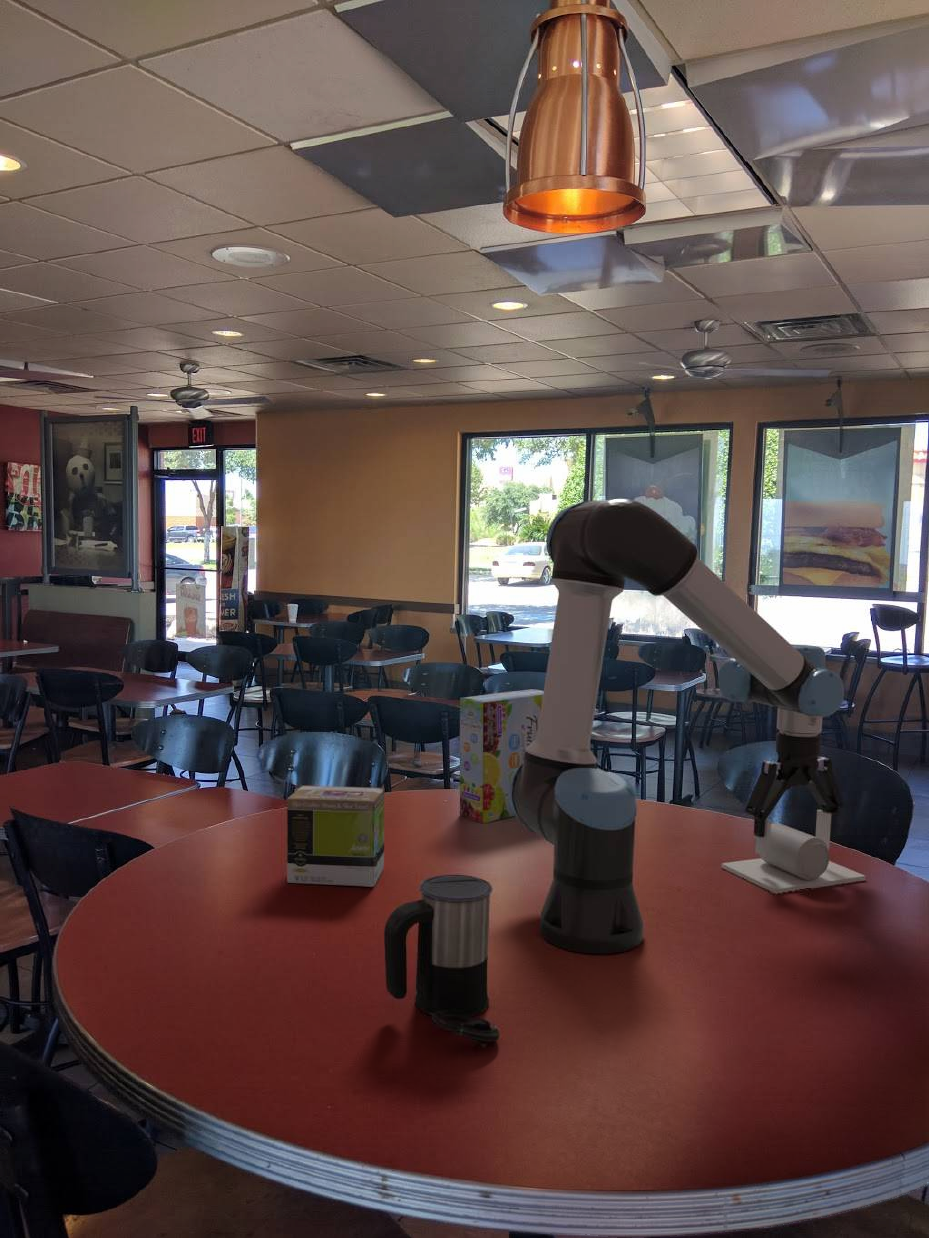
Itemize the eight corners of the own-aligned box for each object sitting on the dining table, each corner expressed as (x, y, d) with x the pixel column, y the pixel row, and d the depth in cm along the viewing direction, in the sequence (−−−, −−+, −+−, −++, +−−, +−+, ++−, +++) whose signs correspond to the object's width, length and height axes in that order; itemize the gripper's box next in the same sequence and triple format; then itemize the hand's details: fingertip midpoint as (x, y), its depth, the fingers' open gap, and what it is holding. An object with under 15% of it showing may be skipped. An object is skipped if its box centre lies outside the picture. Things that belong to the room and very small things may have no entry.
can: (812, 891, 162) (764, 869, 173) (839, 859, 164) (789, 840, 175) (792, 861, 160) (744, 841, 171) (820, 830, 162) (770, 811, 173)
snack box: (529, 799, 216) (532, 687, 214) (556, 808, 209) (560, 692, 207) (455, 815, 202) (458, 695, 200) (482, 824, 195) (485, 700, 193)
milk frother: (451, 978, 124) (453, 867, 123) (547, 1019, 114) (551, 899, 113) (370, 1016, 113) (372, 895, 112) (469, 1066, 103) (472, 933, 102)
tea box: (384, 869, 166) (386, 786, 165) (373, 889, 156) (375, 801, 155) (301, 864, 168) (302, 782, 167) (284, 884, 158) (285, 796, 157)
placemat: (775, 893, 158) (775, 889, 158) (721, 867, 171) (721, 863, 171) (865, 880, 166) (865, 875, 166) (807, 856, 179) (807, 852, 179)
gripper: (756, 740, 158) (750, 864, 160) (868, 733, 168) (861, 850, 170) (727, 732, 165) (722, 851, 167) (836, 725, 175) (830, 838, 177)
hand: (792, 851), depth 168 cm, fingers open, 13 cm apart
